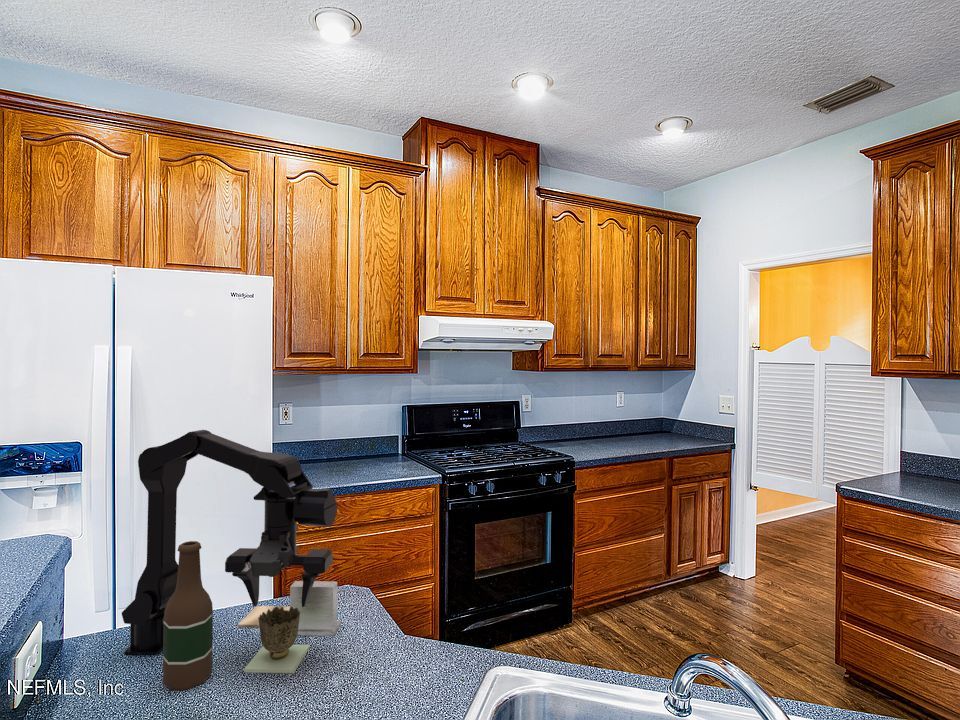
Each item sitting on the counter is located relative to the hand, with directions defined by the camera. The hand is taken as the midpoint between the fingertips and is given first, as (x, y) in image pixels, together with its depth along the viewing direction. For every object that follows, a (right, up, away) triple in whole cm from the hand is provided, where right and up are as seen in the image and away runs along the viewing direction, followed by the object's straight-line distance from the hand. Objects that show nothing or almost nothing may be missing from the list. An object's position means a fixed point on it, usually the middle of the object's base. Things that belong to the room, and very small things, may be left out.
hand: (279, 605), depth 104 cm
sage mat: (0, -10, 0) cm, 10 cm away
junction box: (+3, -10, +12) cm, 16 cm away
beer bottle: (-14, -10, -7) cm, 18 cm away
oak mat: (-9, -10, +17) cm, 22 cm away
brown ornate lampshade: (0, -10, 0) cm, 10 cm away
